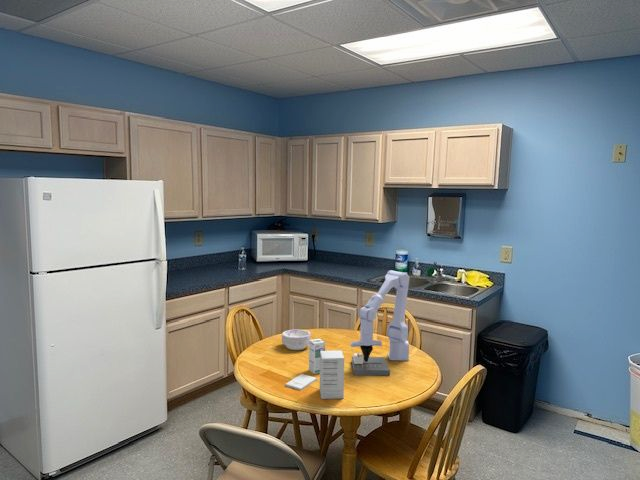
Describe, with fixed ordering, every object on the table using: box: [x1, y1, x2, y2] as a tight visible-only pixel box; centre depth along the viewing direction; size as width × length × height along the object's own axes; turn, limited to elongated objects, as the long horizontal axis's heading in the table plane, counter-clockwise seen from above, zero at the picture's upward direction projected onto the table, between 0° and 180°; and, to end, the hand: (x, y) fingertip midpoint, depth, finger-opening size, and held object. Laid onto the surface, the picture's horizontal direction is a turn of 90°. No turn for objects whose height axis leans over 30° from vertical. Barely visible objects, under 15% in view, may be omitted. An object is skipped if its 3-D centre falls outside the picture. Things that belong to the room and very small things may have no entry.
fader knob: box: [353, 352, 363, 364], centre depth 208 cm, size 4×5×4 cm
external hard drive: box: [284, 373, 317, 391], centre depth 191 cm, size 2×8×12 cm
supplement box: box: [319, 350, 345, 400], centre depth 180 cm, size 10×9×17 cm
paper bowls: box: [281, 328, 312, 351], centre depth 234 cm, size 15×15×8 cm
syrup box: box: [308, 338, 326, 375], centre depth 203 cm, size 6×6×14 cm
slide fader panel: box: [351, 356, 391, 376], centre depth 208 cm, size 16×16×3 cm
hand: (365, 360), depth 208 cm, fingers closed
